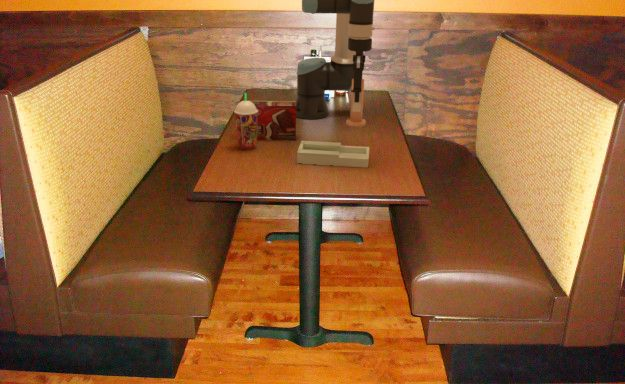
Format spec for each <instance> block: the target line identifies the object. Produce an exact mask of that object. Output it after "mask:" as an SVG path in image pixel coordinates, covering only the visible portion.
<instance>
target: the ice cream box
mask: <svg viewBox="0 0 625 384" xmlns="http://www.w3.org/2000/svg"><path fill="white" fill-rule="evenodd" d="M250 101H251V102H252V103H253V104H254V105H255V106H256V108H257V110H258V119H257V141H296V140H297V131H296V130H297V117H296V100H293V101H291V100H290V101H288V100H286V101H285V100H250Z"/></svg>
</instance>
